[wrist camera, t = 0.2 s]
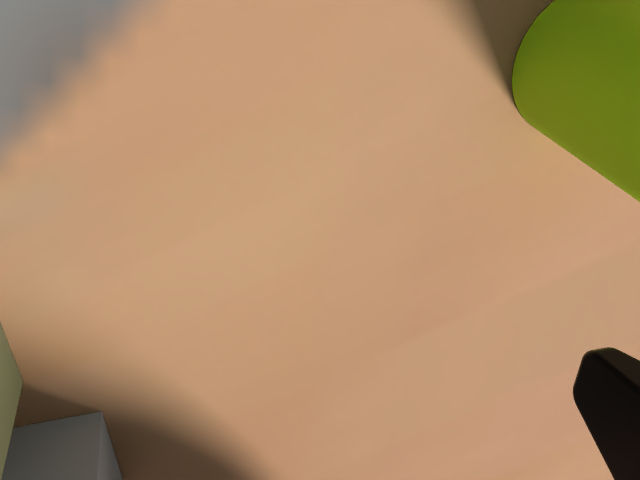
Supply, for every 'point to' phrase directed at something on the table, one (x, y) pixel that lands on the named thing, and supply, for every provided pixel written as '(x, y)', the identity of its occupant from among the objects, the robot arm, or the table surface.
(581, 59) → the soap dispenser
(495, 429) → the table surface
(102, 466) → the slate cube
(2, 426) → the olive cube
